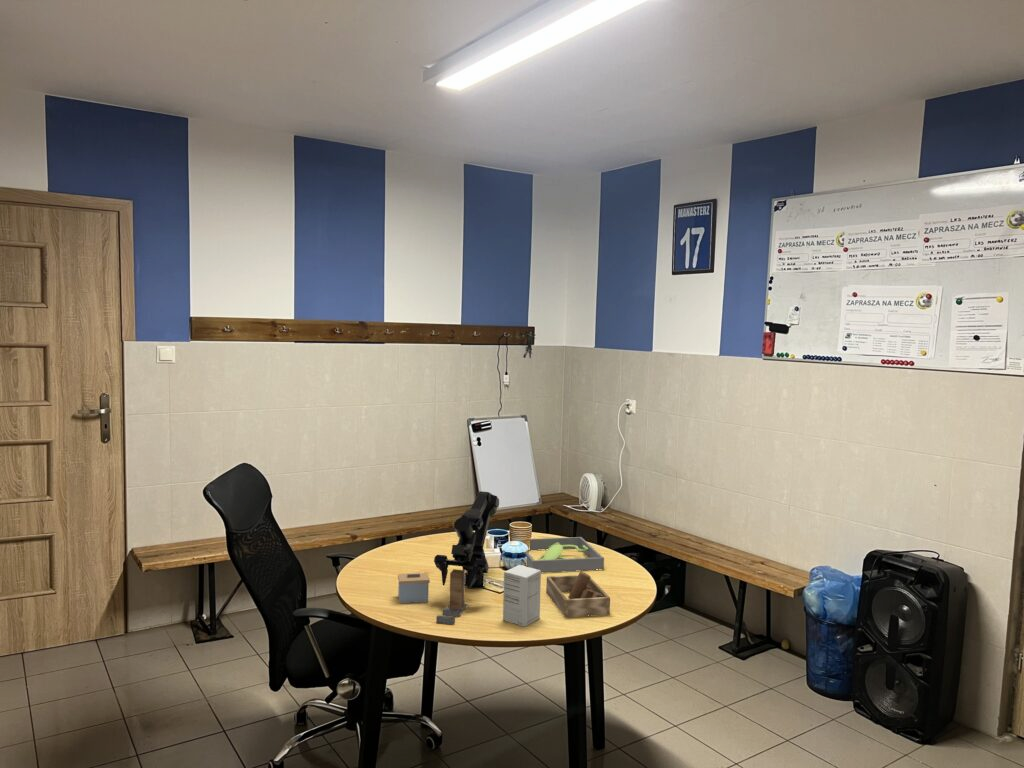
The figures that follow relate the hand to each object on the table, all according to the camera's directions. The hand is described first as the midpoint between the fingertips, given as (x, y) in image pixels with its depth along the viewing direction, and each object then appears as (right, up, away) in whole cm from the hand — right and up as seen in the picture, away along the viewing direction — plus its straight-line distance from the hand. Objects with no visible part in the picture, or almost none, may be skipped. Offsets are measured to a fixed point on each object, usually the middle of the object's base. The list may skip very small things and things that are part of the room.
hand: (456, 586), depth 257 cm
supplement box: (+22, -10, -6) cm, 25 cm away
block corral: (+42, -9, +10) cm, 44 cm away
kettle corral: (+39, -5, +58) cm, 70 cm away
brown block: (0, -8, +2) cm, 8 cm away
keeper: (-2, -9, -7) cm, 12 cm away
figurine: (+39, -5, +59) cm, 71 cm away
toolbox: (-16, -7, +10) cm, 20 cm away
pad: (0, -8, +2) cm, 9 cm away
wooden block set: (+45, -9, +10) cm, 47 cm away
